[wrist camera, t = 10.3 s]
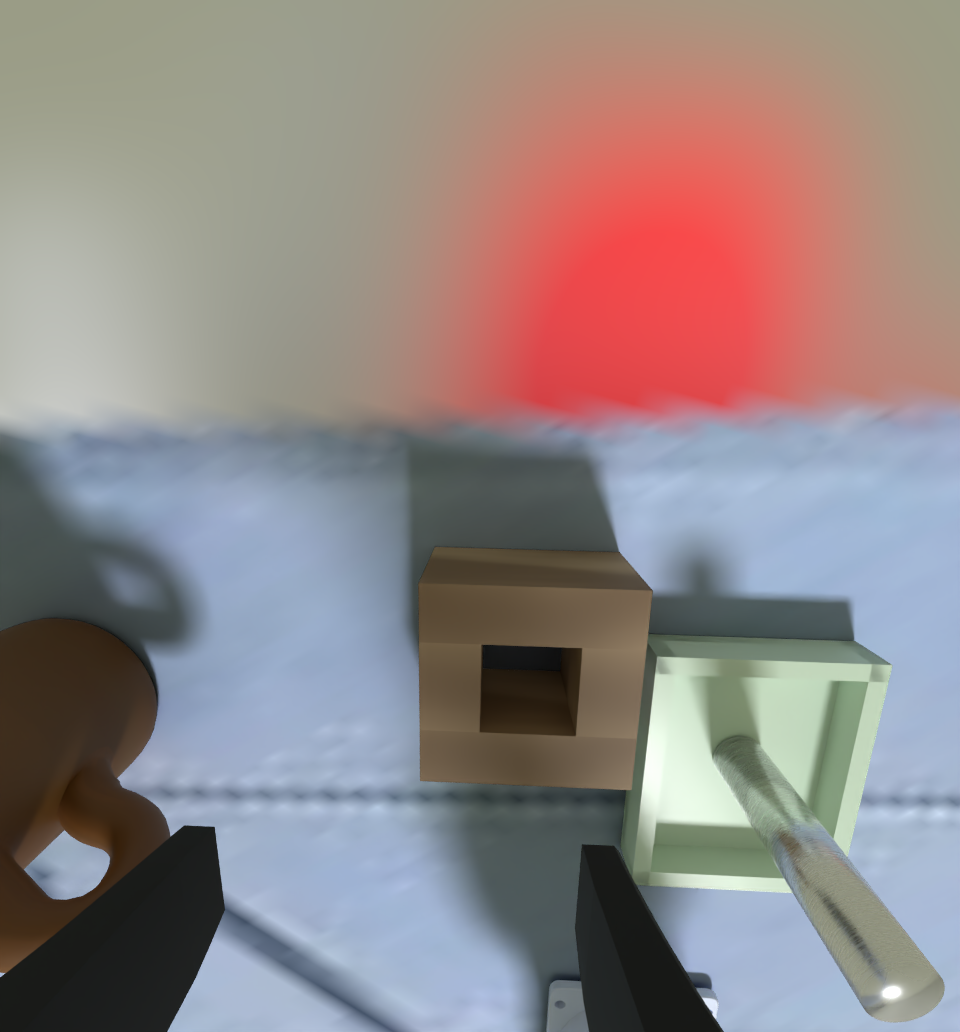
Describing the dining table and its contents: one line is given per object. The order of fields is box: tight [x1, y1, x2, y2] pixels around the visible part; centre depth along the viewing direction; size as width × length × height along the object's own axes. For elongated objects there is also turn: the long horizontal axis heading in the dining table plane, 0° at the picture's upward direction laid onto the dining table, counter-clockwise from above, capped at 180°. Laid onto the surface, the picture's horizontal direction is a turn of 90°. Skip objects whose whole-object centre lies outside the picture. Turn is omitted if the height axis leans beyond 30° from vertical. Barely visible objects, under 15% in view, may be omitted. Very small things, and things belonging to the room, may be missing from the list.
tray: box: [620, 634, 892, 893], centre depth 19 cm, size 10×8×2 cm
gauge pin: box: [713, 735, 944, 1022], centre depth 16 cm, size 2×2×8 cm
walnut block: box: [418, 547, 653, 790], centre depth 17 cm, size 7×7×4 cm
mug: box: [0, 618, 170, 973], centre depth 16 cm, size 12×8×9 cm, turn 75°
